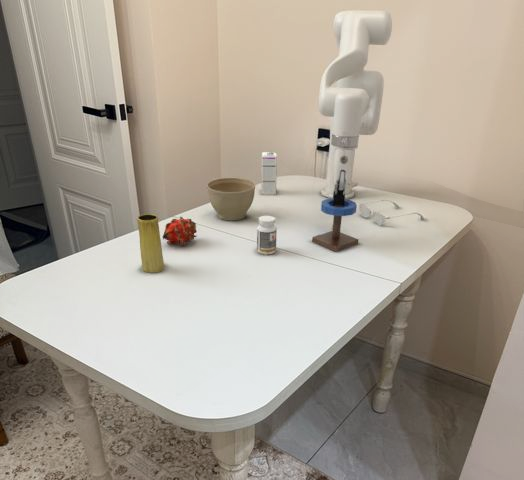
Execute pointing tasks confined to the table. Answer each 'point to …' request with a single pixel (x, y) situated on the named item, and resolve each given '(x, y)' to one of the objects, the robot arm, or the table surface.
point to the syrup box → (269, 173)
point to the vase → (150, 243)
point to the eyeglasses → (378, 216)
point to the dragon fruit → (179, 231)
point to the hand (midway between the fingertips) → (337, 205)
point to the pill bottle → (266, 235)
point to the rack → (335, 237)
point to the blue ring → (338, 208)
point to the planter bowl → (231, 197)
